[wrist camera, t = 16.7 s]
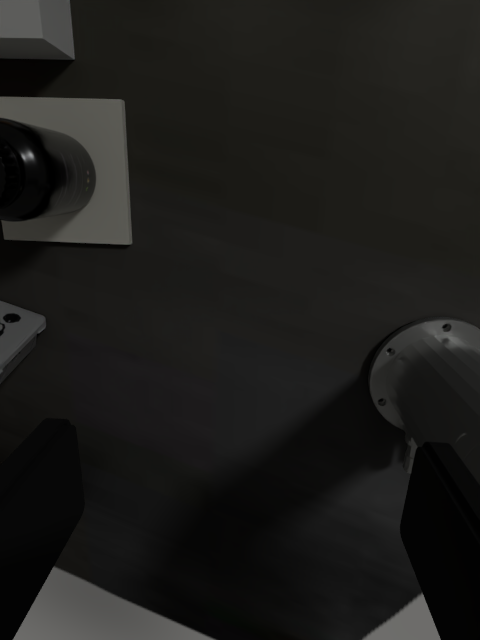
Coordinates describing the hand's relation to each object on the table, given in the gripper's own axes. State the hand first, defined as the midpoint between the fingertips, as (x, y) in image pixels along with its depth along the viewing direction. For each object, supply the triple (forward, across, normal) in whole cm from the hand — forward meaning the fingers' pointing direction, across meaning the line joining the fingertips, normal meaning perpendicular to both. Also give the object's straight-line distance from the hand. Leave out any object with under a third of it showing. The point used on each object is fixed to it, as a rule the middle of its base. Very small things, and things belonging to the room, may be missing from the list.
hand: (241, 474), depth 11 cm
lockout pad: (+28, +18, -8) cm, 34 cm away
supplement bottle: (+28, +18, -8) cm, 34 cm away
